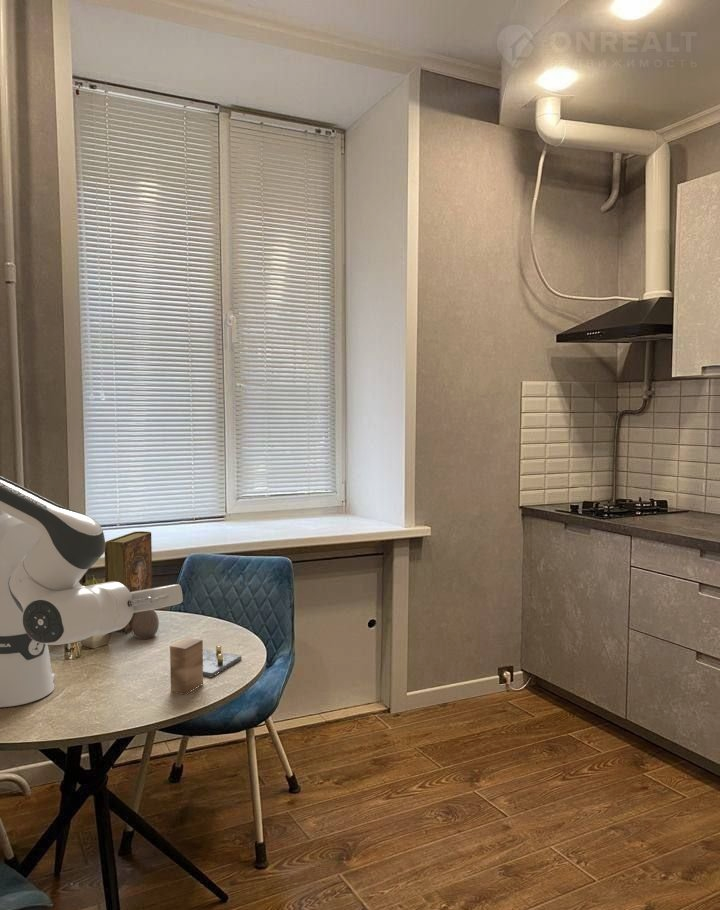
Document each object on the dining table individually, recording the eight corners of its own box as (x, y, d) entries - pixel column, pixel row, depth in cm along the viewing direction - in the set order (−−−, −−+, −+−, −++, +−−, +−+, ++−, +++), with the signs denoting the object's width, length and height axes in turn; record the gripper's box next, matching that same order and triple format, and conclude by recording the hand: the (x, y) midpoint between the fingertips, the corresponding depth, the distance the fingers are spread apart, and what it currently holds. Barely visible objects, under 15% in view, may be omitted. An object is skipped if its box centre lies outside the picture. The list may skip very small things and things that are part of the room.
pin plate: (172, 669, 161) (172, 657, 161) (203, 653, 172) (203, 641, 172) (211, 677, 157) (211, 664, 156) (241, 659, 168) (241, 647, 167)
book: (137, 615, 202) (136, 531, 200) (154, 617, 201) (153, 531, 199) (106, 633, 186) (104, 541, 184) (124, 635, 185) (123, 542, 183)
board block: (170, 691, 149) (170, 646, 148) (188, 681, 154) (187, 637, 154) (186, 694, 147) (185, 648, 146) (203, 684, 153) (202, 640, 152)
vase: (143, 642, 179) (142, 609, 179) (126, 637, 183) (125, 605, 182) (164, 635, 185) (163, 603, 184) (147, 630, 189) (146, 599, 188)
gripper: (153, 581, 121) (197, 572, 134) (60, 597, 127) (110, 588, 141) (159, 617, 120) (202, 605, 133) (65, 632, 127) (114, 619, 140)
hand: (154, 596), depth 137 cm, fingers open, 8 cm apart
